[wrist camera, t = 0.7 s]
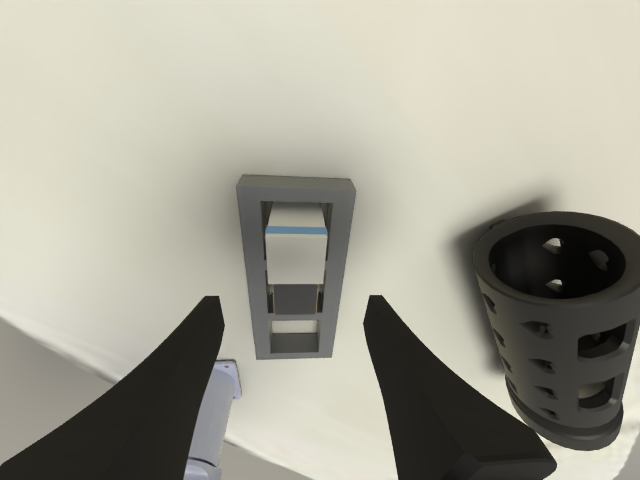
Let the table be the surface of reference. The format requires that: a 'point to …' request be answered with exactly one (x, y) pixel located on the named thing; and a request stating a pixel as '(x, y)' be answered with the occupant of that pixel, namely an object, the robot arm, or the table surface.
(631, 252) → the muzzle brake
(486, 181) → the table surface
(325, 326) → the socket board
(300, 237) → the grey plug
